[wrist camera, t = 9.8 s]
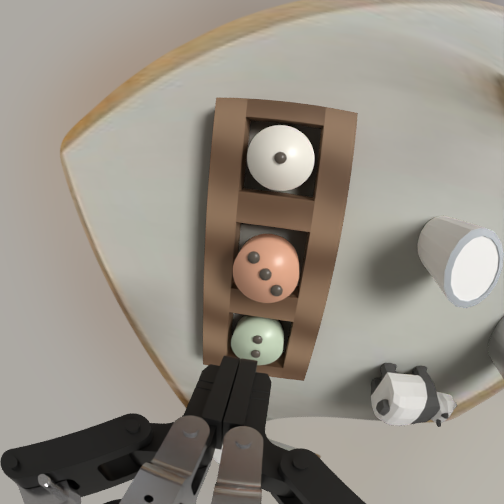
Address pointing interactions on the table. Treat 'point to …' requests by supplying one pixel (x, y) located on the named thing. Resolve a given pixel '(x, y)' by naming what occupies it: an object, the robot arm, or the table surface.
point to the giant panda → (408, 397)
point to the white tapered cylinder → (461, 259)
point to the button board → (274, 215)
